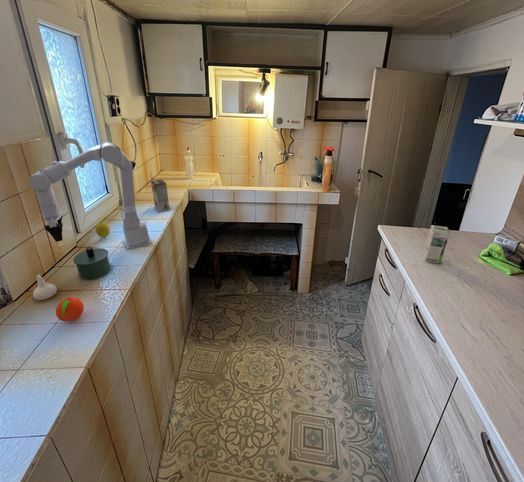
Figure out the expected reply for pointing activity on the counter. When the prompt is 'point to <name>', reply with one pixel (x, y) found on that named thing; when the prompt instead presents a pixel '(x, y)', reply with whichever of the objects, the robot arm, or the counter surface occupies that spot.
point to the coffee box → (160, 195)
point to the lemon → (102, 229)
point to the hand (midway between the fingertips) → (59, 236)
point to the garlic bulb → (44, 289)
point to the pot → (94, 270)
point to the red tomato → (69, 309)
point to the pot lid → (90, 256)
